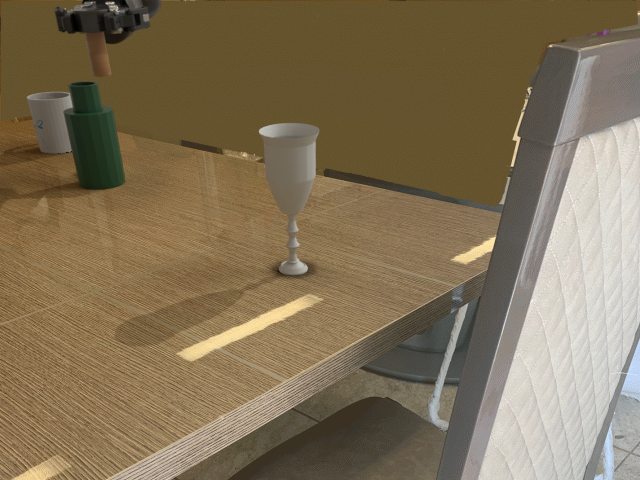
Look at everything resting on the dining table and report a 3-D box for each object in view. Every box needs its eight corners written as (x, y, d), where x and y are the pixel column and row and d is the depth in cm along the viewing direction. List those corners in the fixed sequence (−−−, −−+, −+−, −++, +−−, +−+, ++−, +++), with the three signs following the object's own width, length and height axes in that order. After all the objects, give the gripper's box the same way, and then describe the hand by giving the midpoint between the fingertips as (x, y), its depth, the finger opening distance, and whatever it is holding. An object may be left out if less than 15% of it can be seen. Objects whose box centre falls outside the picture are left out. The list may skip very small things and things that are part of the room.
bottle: (75, 189, 113) (52, 88, 103) (85, 176, 119) (64, 80, 109) (121, 188, 113) (102, 87, 104) (128, 175, 120) (111, 79, 110)
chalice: (275, 267, 86) (268, 121, 75) (325, 271, 85) (325, 124, 74) (260, 291, 80) (250, 136, 69) (313, 295, 79) (312, 140, 68)
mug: (83, 151, 133) (72, 98, 127) (39, 155, 131) (26, 101, 125) (81, 137, 143) (70, 87, 137) (40, 141, 140) (27, 90, 134)
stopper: (82, 78, 91) (68, 11, 86) (89, 72, 94) (76, 8, 89) (115, 77, 91) (103, 10, 86) (121, 72, 94) (110, 7, 90)
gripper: (59, -16, 97) (26, -9, 84) (155, -17, 98) (136, -10, 84) (71, 41, 102) (41, 56, 88) (162, 40, 103) (146, 55, 89)
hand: (88, 24), depth 86 cm, fingers closed on stopper, 4 cm apart
